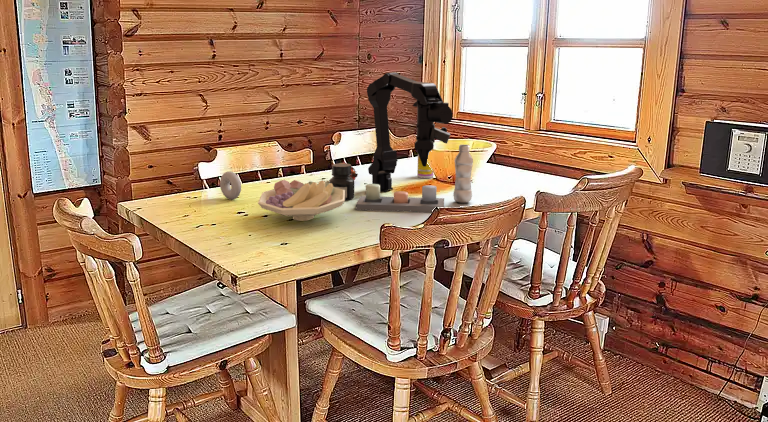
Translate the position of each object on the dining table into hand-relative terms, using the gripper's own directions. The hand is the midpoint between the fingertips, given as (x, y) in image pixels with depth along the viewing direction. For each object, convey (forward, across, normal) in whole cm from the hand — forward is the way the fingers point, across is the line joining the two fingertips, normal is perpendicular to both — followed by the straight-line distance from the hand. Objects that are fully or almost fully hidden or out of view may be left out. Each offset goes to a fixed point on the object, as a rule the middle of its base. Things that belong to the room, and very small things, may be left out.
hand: (424, 166), depth 235 cm
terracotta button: (+12, -9, +7) cm, 17 cm away
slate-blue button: (+10, -9, -2) cm, 13 cm away
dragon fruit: (+13, +28, +32) cm, 45 cm away
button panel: (+12, -9, +7) cm, 17 cm away
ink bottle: (+13, +2, +29) cm, 32 cm away
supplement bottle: (+13, +42, +1) cm, 44 cm away
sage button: (+10, -9, +17) cm, 21 cm away
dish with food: (+13, -27, +37) cm, 48 cm away
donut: (+13, -5, +67) cm, 69 cm away
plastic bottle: (+13, 0, -13) cm, 18 cm away
